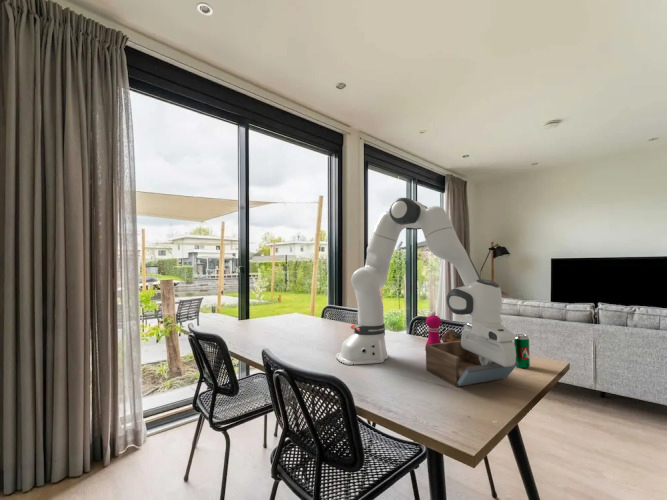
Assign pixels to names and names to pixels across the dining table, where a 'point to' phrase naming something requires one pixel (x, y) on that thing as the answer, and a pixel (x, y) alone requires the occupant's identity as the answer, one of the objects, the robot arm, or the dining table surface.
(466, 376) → the panel
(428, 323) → the pepper mill
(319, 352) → the dining table surface
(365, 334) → the robot arm
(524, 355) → the soda can
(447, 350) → the box
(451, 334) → the decorative turtle
